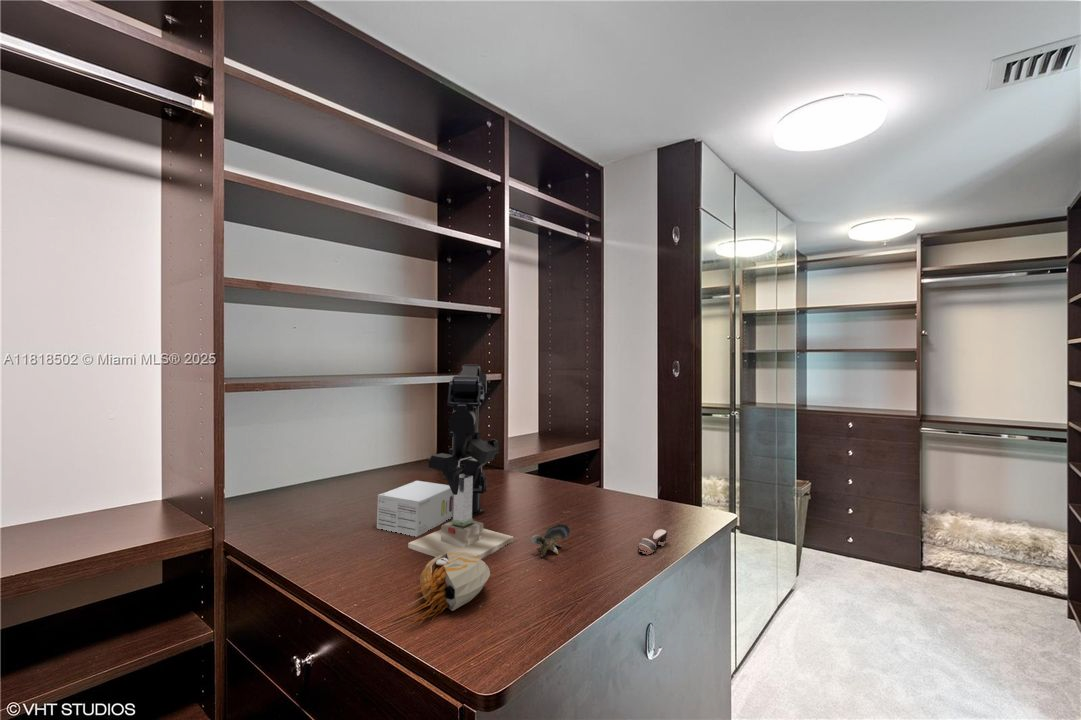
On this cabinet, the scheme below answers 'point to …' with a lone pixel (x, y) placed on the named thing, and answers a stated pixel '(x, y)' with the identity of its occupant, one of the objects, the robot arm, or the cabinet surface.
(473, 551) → the birch stand
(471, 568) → the nautilus
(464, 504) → the steel post
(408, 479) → the cabinet surface
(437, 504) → the supplement box
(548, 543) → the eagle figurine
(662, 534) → the heeled mule
